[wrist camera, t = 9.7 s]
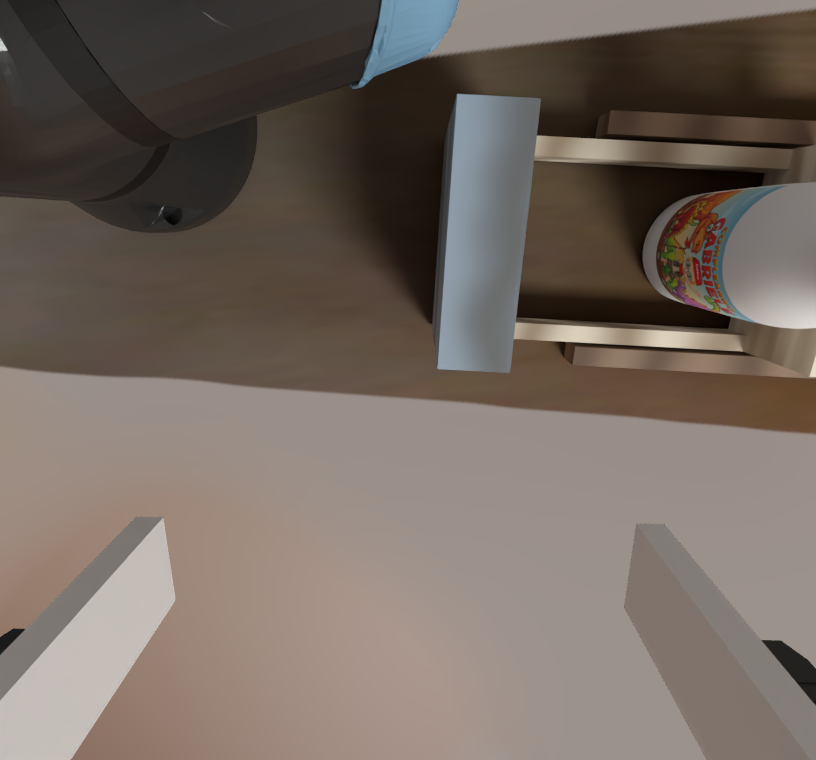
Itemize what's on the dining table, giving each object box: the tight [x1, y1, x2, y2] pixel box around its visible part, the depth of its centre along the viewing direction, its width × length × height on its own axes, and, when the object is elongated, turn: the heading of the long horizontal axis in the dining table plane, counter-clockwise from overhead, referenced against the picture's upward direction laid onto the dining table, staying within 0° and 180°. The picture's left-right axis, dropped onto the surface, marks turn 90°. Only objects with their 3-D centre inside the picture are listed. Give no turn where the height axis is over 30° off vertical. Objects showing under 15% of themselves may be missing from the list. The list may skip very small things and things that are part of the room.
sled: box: [432, 94, 816, 377], centre depth 32 cm, size 24×14×12 cm, turn 87°
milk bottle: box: [643, 182, 816, 329], centre depth 28 cm, size 8×8×20 cm
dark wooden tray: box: [564, 110, 816, 379], centre depth 37 cm, size 27×17×2 cm, turn 87°
